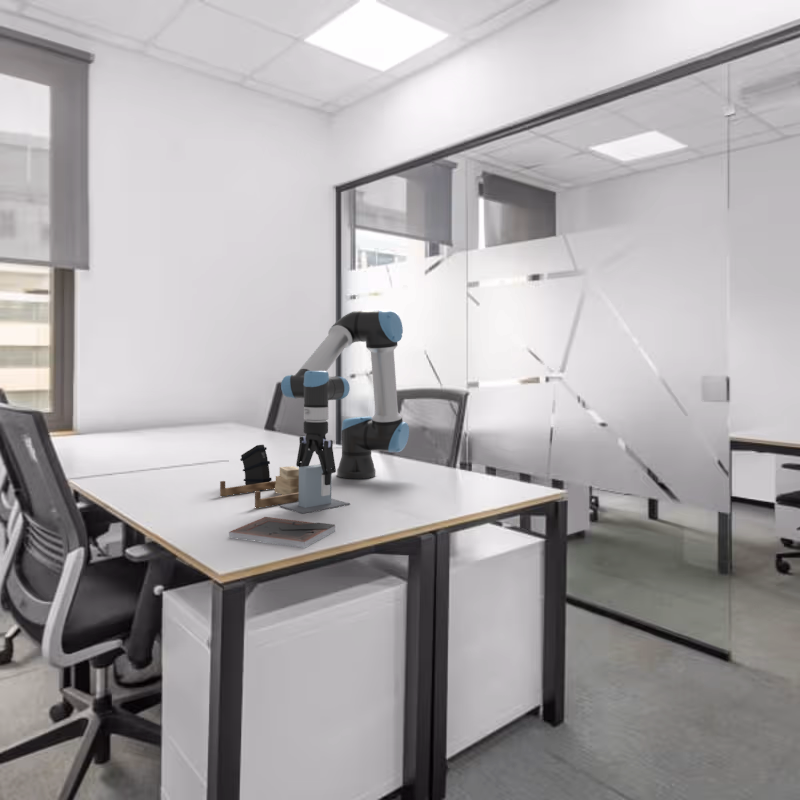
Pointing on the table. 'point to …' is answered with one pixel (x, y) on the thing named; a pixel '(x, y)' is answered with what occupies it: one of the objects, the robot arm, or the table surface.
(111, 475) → the table surface
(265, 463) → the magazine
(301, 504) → the pale blue chunky brick
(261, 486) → the rack
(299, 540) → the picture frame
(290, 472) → the offcut top
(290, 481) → the block
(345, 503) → the mat
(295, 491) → the block
